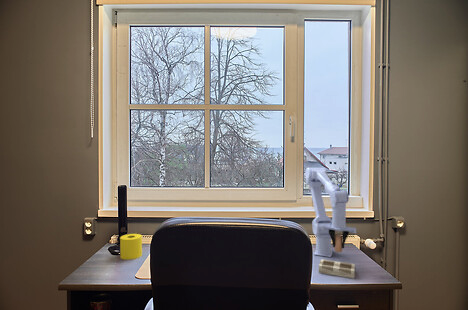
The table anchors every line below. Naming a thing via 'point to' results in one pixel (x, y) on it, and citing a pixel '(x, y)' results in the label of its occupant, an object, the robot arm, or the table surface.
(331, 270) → the bore block
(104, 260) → the table surface
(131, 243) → the tape roll
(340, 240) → the dowel
